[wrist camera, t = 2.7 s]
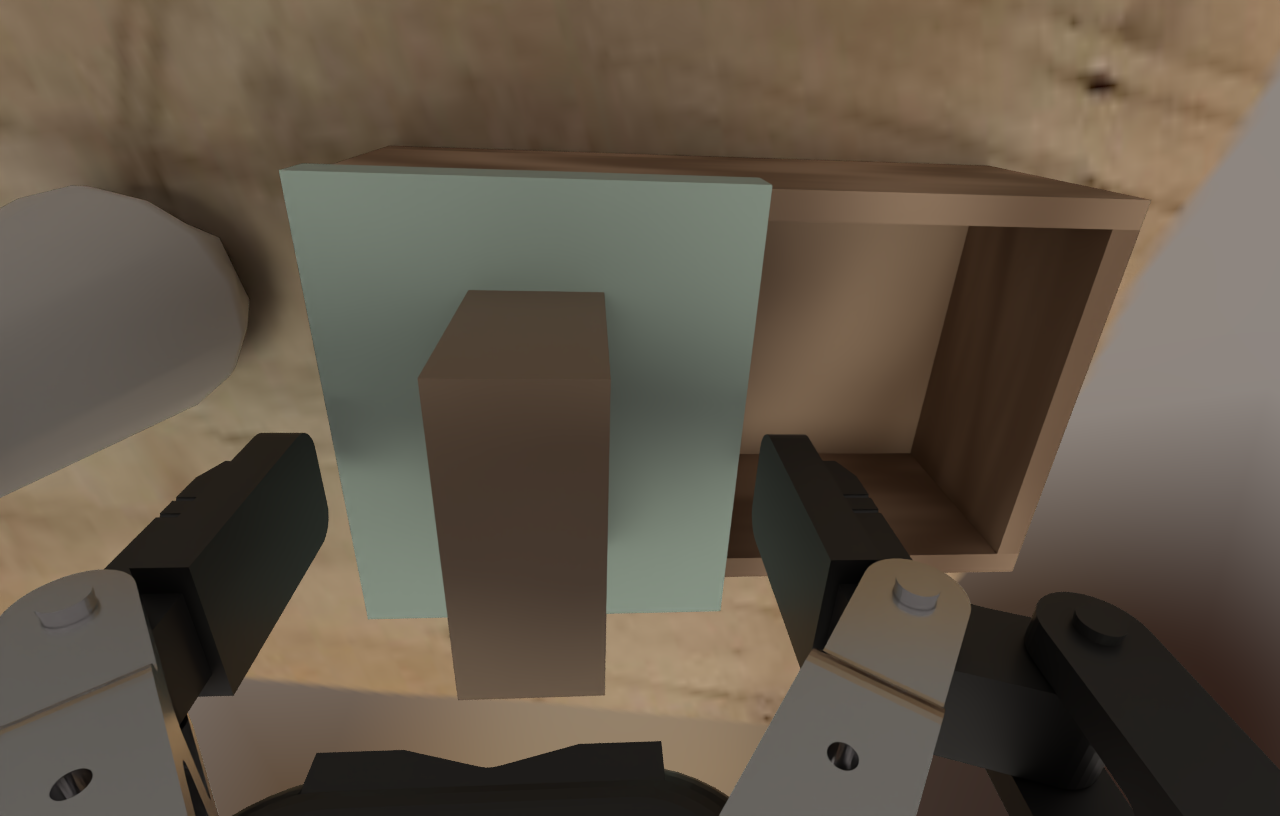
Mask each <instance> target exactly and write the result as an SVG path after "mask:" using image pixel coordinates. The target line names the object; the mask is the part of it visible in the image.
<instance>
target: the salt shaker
mask: <svg viewBox="0 0 1280 816" xmlns="http://www.w3.org/2000/svg"><path fill="white" fill-rule="evenodd" d="M249 301H250V300H249V298H248V296H247V294H246V292H245V290H244V288H243V285H242V283H241V281H240V279H239V277H238V275H237V273H236V271H235V269H234V267H233V265H232V263H231V261H230V259H229V257H228V255H227V253H226V251H225V249H224V247H223V245H222V243H221V241H220V238H219V237H216V236H214V235H212V234H209V233H207V232H205V231H202V230H200V229H198V228H195V227H193V226H191V225H188V224H186V223H184V222H182V221H180V220H179V219H177V218H175V217H174V216H172V215H170V214H169V213H167V212H165V211H164V210H162V209H160V208H159V207H157V206H155V205H154V204H152V203H150V202H149V201H146V200H142V199H138V198H134V197H130V196H126V195H122V194H118V193H114V192H110V191H106V190H102V189H98V188H94V187H90V186H67V187H63V188H59V189H55V190H51V191H47V192H43V193H39V194H35V195H31V196H27V197H23V198H18V199H16V200H14V201H12V202H11V203H9V204H7V205H5V206H3V207H2V208H0V498H1V497H3V496H5V495H7V494H9V493H11V492H14V491H16V490H18V489H20V488H22V487H24V486H26V485H28V484H30V483H33V482H35V481H37V480H39V479H41V478H43V477H45V476H47V475H50V474H52V473H54V472H56V471H58V470H60V469H62V468H64V467H66V466H69V465H71V464H73V463H75V462H77V461H79V460H81V459H83V458H85V457H88V456H90V455H92V454H94V453H96V452H98V451H100V450H102V449H104V448H107V447H109V446H111V445H113V444H115V443H117V442H119V441H121V440H123V439H126V438H128V437H130V436H132V435H134V434H136V433H138V432H140V431H143V430H145V429H147V428H149V427H151V426H153V425H155V424H157V423H159V422H162V421H164V420H166V419H168V418H170V417H172V416H174V415H176V414H178V413H181V412H183V411H185V410H187V409H189V408H191V407H193V406H195V405H197V404H198V403H200V402H201V401H202V400H203V399H204V398H205V397H206V396H208V395H209V394H210V393H211V392H212V391H213V390H214V389H215V388H217V387H218V386H219V385H220V384H221V383H222V382H223V381H225V380H226V379H227V378H228V377H229V376H230V374H231V373H232V372H233V370H234V369H235V367H236V364H237V361H238V357H239V354H240V351H241V347H242V344H243V340H244V337H245V334H246V330H247V326H248V313H249Z"/></svg>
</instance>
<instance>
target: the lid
mask: <svg viewBox="0 0 1280 816" xmlns="http://www.w3.org/2000/svg"><path fill="white" fill-rule="evenodd" d="M279 174H280V179H281V184H282V189H283V194H284V199H285V204H286V209H287V214H288V219H289V224H290V229H291V234H292V239H293V244H294V249H295V254H296V259H297V264H298V269H299V274H300V279H301V284H302V289H303V294H304V299H305V304H306V309H307V314H308V319H309V324H310V329H311V334H312V339H313V345H314V350H315V355H316V360H317V365H318V370H319V375H320V380H321V385H322V390H323V395H324V400H325V405H326V410H327V415H328V420H329V425H330V430H331V435H332V440H333V445H334V450H335V455H336V460H337V465H338V470H339V475H340V480H341V485H342V490H343V495H344V500H345V505H346V510H347V515H348V520H349V525H350V530H351V535H352V540H353V545H354V551H355V556H356V561H357V566H358V571H359V576H360V581H361V586H362V591H363V596H364V601H365V606H366V611H367V616H368V619H399V618H442V617H448V625H449V633H450V641H451V649H452V657H453V665H454V673H455V681H456V689H457V697H458V700H479V699H509V698H540V697H570V696H600V695H605V656H606V614H614V613H657V612H700V611H720V609H721V601H722V592H723V584H724V576H725V568H726V560H727V552H728V544H729V535H730V527H731V519H732V511H733V503H734V495H735V486H736V478H737V470H738V462H739V454H740V446H741V438H742V429H743V421H744V413H745V405H746V397H747V389H748V381H749V372H750V364H751V356H752V348H753V340H754V332H755V324H756V315H757V307H758V299H759V291H760V283H761V275H762V266H763V258H764V250H765V242H766V234H767V226H768V218H769V209H770V201H771V193H772V184H770V183H768V182H766V181H765V180H763V179H761V178H757V177H725V176H693V175H660V174H628V173H595V172H563V171H531V170H498V169H466V168H434V167H401V166H369V165H336V164H304V163H302V164H299V165H295V166H292V167H288V168H285V169H281V170H279Z"/></svg>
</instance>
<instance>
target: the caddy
mask: <svg viewBox="0 0 1280 816" xmlns="http://www.w3.org/2000/svg"><path fill="white" fill-rule="evenodd" d="M334 164H336V165H369V166H401V167H434V168H466V169H498V170H531V171H563V172H595V173H628V174H660V175H693V176H725V177H757V178H761V179H763V180H765V181H766V182H768V183H770V184H772V193H771V201H770V209H769V218H768V226H767V234H766V242H765V250H764V258H763V266H762V275H761V283H760V291H759V299H758V307H757V315H756V324H755V332H754V340H753V348H752V356H751V364H750V372H749V381H748V389H747V397H746V405H745V413H744V421H743V429H742V438H741V446H740V454H739V462H738V470H737V478H736V486H735V495H734V503H733V511H732V519H731V527H730V535H729V544H728V552H727V560H726V568H725V576H724V577H741V576H768V575H767V572H766V569H765V567H764V564H763V561H762V558H761V555H760V552H759V550H758V547H757V544H756V541H755V538H754V533H753V527H752V504H753V496H754V489H755V482H756V474H757V467H758V460H759V452H760V446H761V441H762V438H763V437H764V435H766V434H805V435H807V436H808V437H809V439H810V441H811V442H812V444H813V446H814V447H815V449H816V451H817V452H818V454H819V455H820V457H821V459H822V460H823V461H836V462H838V463H839V464H840V465H842V466H843V467H844V468H846V469H847V470H849V471H850V472H851V473H853V474H854V475H856V476H857V478H858V479H859V481H860V482H861V484H862V485H863V487H864V488H865V490H866V491H867V493H868V494H869V495H868V496H869V498H871V499H872V500H873V502H874V503H875V505H876V506H877V508H878V512H879V513H882V515H883V516H884V518H885V519H886V521H887V522H888V524H889V525H890V527H891V528H892V530H893V531H894V533H895V534H896V536H897V537H898V539H899V540H900V542H901V543H902V545H903V546H904V548H905V549H906V551H907V552H908V554H909V555H910V557H911V558H912V560H913V561H918V562H921V563H924V564H927V565H930V566H932V567H934V568H936V569H938V570H940V571H942V572H944V573H952V572H1005V571H1012V570H1013V568H1014V565H1015V563H1016V560H1017V557H1018V555H1019V552H1020V549H1021V547H1022V544H1023V541H1024V538H1025V536H1026V533H1027V530H1028V528H1029V525H1030V523H1031V520H1032V517H1033V514H1034V512H1035V509H1036V507H1037V504H1038V501H1039V499H1040V496H1041V493H1042V490H1043V488H1044V485H1045V483H1046V480H1047V477H1048V474H1049V472H1050V469H1051V467H1052V464H1053V461H1054V459H1055V456H1056V453H1057V451H1058V448H1059V445H1060V443H1061V440H1062V437H1063V434H1064V432H1065V429H1066V427H1067V424H1068V421H1069V419H1070V416H1071V413H1072V411H1073V408H1074V405H1075V403H1076V400H1077V397H1078V395H1079V392H1080V389H1081V387H1082V384H1083V381H1084V379H1085V376H1086V373H1087V371H1088V368H1089V365H1090V363H1091V360H1092V357H1093V355H1094V352H1095V349H1096V347H1097V344H1098V341H1099V339H1100V336H1101V333H1102V331H1103V328H1104V325H1105V323H1106V320H1107V317H1108V315H1109V312H1110V309H1111V307H1112V304H1113V301H1114V299H1115V296H1116V293H1117V291H1118V288H1119V285H1120V283H1121V280H1122V277H1123V275H1124V272H1125V269H1126V267H1127V264H1128V261H1129V259H1130V256H1131V253H1132V251H1133V248H1134V245H1135V243H1136V240H1137V237H1138V235H1139V232H1140V229H1141V227H1142V224H1143V221H1144V219H1145V216H1146V213H1147V211H1148V208H1149V205H1150V203H1151V200H1149V199H1144V198H1139V197H1135V196H1130V195H1125V194H1120V193H1116V192H1111V191H1106V190H1101V189H1097V188H1092V187H1087V186H1082V185H1078V184H1073V183H1068V182H1063V181H1059V180H1054V179H1049V178H1044V177H1040V176H1035V175H1030V174H1025V173H1021V172H1016V171H1011V170H1006V169H1002V168H997V167H992V166H981V165H951V164H921V163H891V162H861V161H831V160H801V159H771V158H741V157H711V156H681V155H651V154H621V153H591V152H561V151H531V150H501V149H471V148H441V147H410V146H387V147H384V148H380V149H377V150H374V151H371V152H368V153H365V154H362V155H359V156H356V157H352V158H349V159H346V160H343V161H340V162H337V163H334Z"/></svg>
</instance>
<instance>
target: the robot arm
mask: <svg viewBox="0 0 1280 816" xmlns="http://www.w3.org/2000/svg"><path fill="white" fill-rule="evenodd" d="M868 495H869V494H868V493H867V491H866V490H865V488H864V487H863V485H862V484H861V482H860V481H859V479H858V478H857V476H856V475H854V474H853V473H851V472H850V471H849V470H847V469H846V468H844V467H843V466H842V465H840V464H839V463H838V462H836V461H823V460H822V459H821V457H820V455H819V454H818V452H817V451H816V449H815V447H814V446H813V444H812V442H811V441H810V439H809V437H808V436H807V435H805V434H766V435H764V437H763V438H762V441H761V446H760V452H759V460H758V467H757V474H756V482H755V489H754V496H753V504H752V527H753V533H754V538H755V541H756V544H757V547H758V550H759V552H760V555H761V558H762V561H763V564H764V567H765V569H766V572H767V575H768V578H769V581H770V584H771V586H772V589H773V592H774V595H775V598H776V601H777V603H778V606H779V609H780V612H781V615H782V618H783V620H784V623H785V626H786V629H787V632H788V635H789V637H790V640H791V643H792V646H793V649H794V652H795V654H796V657H797V660H798V663H799V666H800V671H799V673H798V675H797V676H796V678H795V680H794V682H793V684H792V685H791V687H790V689H789V691H788V693H787V694H786V696H785V698H784V700H783V702H782V703H781V705H780V707H779V709H778V711H777V712H776V714H775V716H774V718H773V720H772V721H771V723H770V725H769V727H768V729H767V730H766V732H765V734H764V736H763V737H762V739H761V741H760V743H759V745H758V746H757V748H756V750H755V752H754V754H753V756H752V757H751V759H750V761H749V763H748V764H747V766H746V768H745V770H744V772H743V774H742V775H741V777H740V779H739V781H738V782H737V784H736V786H735V788H734V790H733V791H732V793H731V795H730V797H728V796H727V795H726V794H724V793H722V792H721V791H719V790H718V789H716V788H714V787H712V786H710V785H708V784H706V783H704V782H702V781H700V780H698V779H696V778H693V777H690V776H687V775H684V774H682V773H679V772H675V771H670V770H666V769H664V764H663V754H662V745H661V741H656V742H626V743H595V744H578V745H574V746H570V747H567V748H563V749H560V750H556V751H552V752H549V753H545V754H541V755H538V756H534V757H530V758H527V759H523V760H519V761H516V762H512V763H508V764H505V765H501V766H497V767H491V768H485V767H478V766H474V765H469V764H464V763H460V762H455V761H451V760H446V759H442V758H437V757H433V756H428V755H424V754H419V753H415V752H410V751H406V750H393V751H363V752H337V753H336V752H333V753H317V754H316V756H315V758H314V760H313V763H312V766H311V768H310V770H309V773H308V775H307V777H306V780H305V782H304V784H303V785H299V786H296V787H293V788H290V789H287V790H285V791H282V792H279V793H277V794H275V795H272V796H269V797H267V798H265V799H263V800H261V801H259V802H257V803H255V804H252V805H251V806H248V807H246V808H245V809H243V810H241V811H240V812H238V813H236V814H234V815H233V816H916V813H917V810H918V806H919V803H920V799H921V796H922V792H923V788H924V785H925V781H926V778H927V774H928V771H929V767H930V763H931V760H932V756H933V755H936V756H941V757H944V758H948V759H951V760H955V761H960V762H963V763H967V764H970V765H974V766H978V767H982V768H985V769H986V771H987V773H988V775H989V777H990V779H991V781H992V783H993V785H994V787H995V789H996V791H997V793H998V795H999V797H1000V799H1001V801H1002V802H1003V805H1004V807H1005V809H1006V811H1007V812H1008V814H1009V816H1280V770H1279V769H1278V768H1277V766H1276V765H1274V763H1273V762H1272V761H1271V760H1270V759H1269V758H1268V757H1267V756H1266V755H1265V754H1264V753H1263V751H1262V750H1261V749H1260V748H1259V747H1258V746H1257V745H1256V744H1255V743H1254V742H1253V741H1252V740H1251V739H1250V738H1249V736H1248V735H1247V734H1246V733H1245V732H1244V731H1243V730H1242V729H1241V728H1240V727H1239V726H1238V725H1237V724H1236V723H1235V722H1234V720H1233V719H1232V718H1231V717H1229V715H1228V714H1227V713H1226V712H1225V711H1224V710H1223V709H1222V708H1221V707H1220V705H1219V704H1217V702H1216V701H1215V700H1214V699H1213V698H1212V697H1211V696H1210V695H1209V694H1208V693H1207V692H1206V691H1205V689H1204V688H1203V687H1202V686H1201V685H1200V684H1199V683H1198V682H1197V681H1196V680H1195V679H1194V678H1193V677H1192V676H1191V674H1190V673H1189V672H1188V671H1187V670H1186V669H1185V668H1184V667H1183V666H1182V665H1181V664H1180V663H1179V662H1178V661H1177V660H1176V658H1175V657H1174V656H1173V655H1172V654H1171V653H1170V652H1169V651H1168V650H1167V649H1166V648H1165V647H1164V646H1163V645H1162V643H1161V642H1160V641H1159V640H1158V639H1157V638H1156V637H1155V636H1154V635H1153V634H1152V633H1151V632H1150V631H1149V630H1148V629H1147V628H1146V627H1145V626H1144V625H1143V624H1142V623H1141V622H1139V621H1138V620H1136V619H1135V618H1134V617H1132V616H1131V615H1129V614H1128V613H1126V612H1125V611H1123V610H1121V609H1120V608H1117V607H1116V606H1114V605H1111V604H1110V603H1107V602H1105V601H1103V600H1100V599H1097V598H1094V597H1091V596H1087V595H1084V594H1078V593H1070V592H1056V593H1051V594H1048V595H1046V596H1044V597H1043V598H1041V599H1040V600H1039V602H1038V603H1037V606H1036V608H1035V611H1034V613H1033V615H1032V618H1031V617H1026V616H1022V615H1017V614H1012V613H1007V612H1003V611H998V610H993V609H988V608H984V607H980V606H976V605H973V604H970V600H969V598H968V595H967V594H966V592H965V591H964V589H963V588H962V587H961V586H960V585H959V584H958V583H957V582H956V581H955V580H954V579H952V578H951V577H950V576H948V575H947V574H945V573H944V572H942V571H940V570H938V569H936V568H934V567H932V566H930V565H927V564H924V563H921V562H918V561H913V560H912V558H911V557H910V555H909V554H908V552H907V551H906V549H905V548H904V546H903V545H902V543H901V542H900V540H899V539H898V537H897V536H896V534H895V533H894V531H893V530H892V528H891V527H890V525H889V524H888V522H887V521H886V519H885V518H884V516H883V515H882V513H879V512H878V508H877V506H876V505H875V503H874V502H873V500H872V499H871V498H869V496H868ZM327 529H328V506H327V501H326V496H325V492H324V487H323V482H322V478H321V473H320V469H319V464H318V459H317V455H316V450H315V446H314V443H313V440H312V438H311V437H310V436H309V435H308V434H306V433H259V434H257V435H256V436H255V437H254V438H253V439H252V440H251V441H250V442H249V443H248V444H247V445H246V446H245V447H244V448H243V449H242V450H241V451H240V452H239V453H238V454H237V455H236V456H235V457H234V459H233V460H232V461H225V462H223V463H221V464H219V465H218V466H216V467H214V468H212V469H210V470H209V471H207V472H205V473H203V474H202V475H200V476H198V477H196V478H195V479H194V480H193V481H192V482H191V483H190V484H189V485H188V486H187V487H186V488H185V489H184V490H183V491H182V492H181V493H180V494H179V495H178V496H177V497H176V501H172V502H171V503H170V504H169V505H168V506H167V507H166V508H165V509H164V510H163V511H162V512H161V513H160V518H155V519H154V520H153V521H152V522H151V523H150V524H149V525H148V526H147V527H146V528H145V529H144V530H143V531H142V532H141V533H140V534H139V535H138V536H137V537H136V538H135V539H134V540H133V541H132V542H131V543H130V544H129V545H128V546H127V547H126V548H125V549H124V550H123V551H122V552H121V553H120V554H119V555H118V556H117V557H116V558H115V559H114V560H113V561H112V562H111V563H110V564H109V565H108V566H107V567H106V568H105V569H104V570H92V571H86V572H81V573H76V574H73V575H69V576H66V577H63V578H60V579H58V580H55V581H52V582H50V583H48V584H45V585H43V586H41V587H39V588H37V589H35V590H33V591H31V592H30V593H28V594H26V595H25V596H23V597H22V598H20V599H19V600H17V601H16V602H15V603H14V604H12V605H11V606H10V607H9V608H8V609H7V610H6V611H4V612H3V614H2V615H1V616H0V816H219V815H218V811H217V807H216V804H215V800H214V797H213V793H212V790H211V786H210V783H209V779H208V776H207V772H206V769H205V766H204V762H203V758H202V755H201V752H200V748H199V745H198V741H197V738H196V734H195V731H194V727H193V724H192V722H191V719H190V717H189V715H188V711H189V710H190V708H191V706H192V705H193V704H194V702H195V700H196V699H197V697H200V696H233V695H234V694H235V692H236V691H237V689H238V687H239V685H240V684H241V682H242V680H243V679H244V677H245V675H246V674H247V672H248V670H249V668H250V667H251V665H252V663H253V662H254V660H255V658H256V657H257V655H258V653H259V651H260V650H261V648H262V646H263V645H264V643H265V641H266V640H267V638H268V636H269V634H270V633H271V631H272V629H273V628H274V626H275V624H276V622H277V621H278V619H279V617H280V616H281V614H282V612H283V611H284V609H285V607H286V605H287V604H288V602H289V600H290V599H291V597H292V595H293V593H294V592H295V590H296V588H297V587H298V585H299V583H300V582H301V580H302V578H303V576H304V575H305V573H306V571H307V570H308V568H309V566H310V564H311V563H312V561H313V559H314V558H315V556H316V554H317V553H318V551H319V549H320V547H321V546H322V544H323V542H324V540H325V537H326V533H327ZM1104 766H1106V767H1107V769H1108V770H1109V771H1110V773H1111V774H1112V776H1113V777H1114V779H1115V780H1116V782H1117V783H1118V785H1119V786H1120V788H1121V789H1122V790H1123V792H1124V793H1125V795H1126V797H1127V798H1128V800H1129V802H1130V804H1131V806H1132V808H1131V807H1130V805H1129V804H1128V802H1127V801H1126V799H1125V798H1124V796H1123V795H1122V793H1121V792H1120V791H1119V789H1118V787H1117V786H1116V785H1115V783H1114V782H1113V780H1112V779H1111V777H1110V776H1109V774H1108V773H1107V771H1106V770H1105V768H1104Z"/></svg>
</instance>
